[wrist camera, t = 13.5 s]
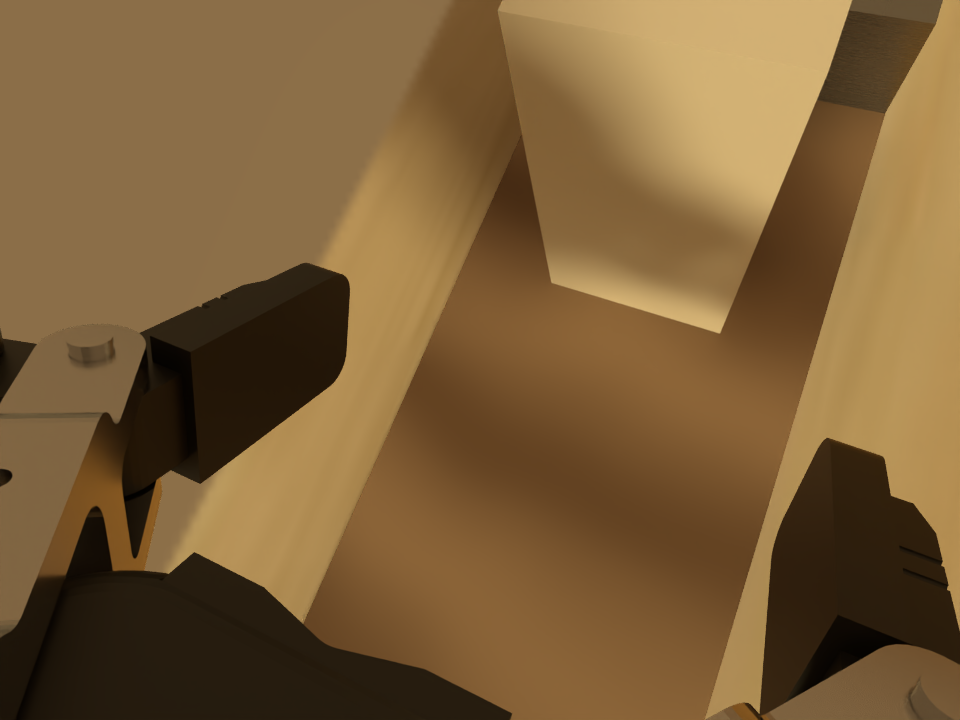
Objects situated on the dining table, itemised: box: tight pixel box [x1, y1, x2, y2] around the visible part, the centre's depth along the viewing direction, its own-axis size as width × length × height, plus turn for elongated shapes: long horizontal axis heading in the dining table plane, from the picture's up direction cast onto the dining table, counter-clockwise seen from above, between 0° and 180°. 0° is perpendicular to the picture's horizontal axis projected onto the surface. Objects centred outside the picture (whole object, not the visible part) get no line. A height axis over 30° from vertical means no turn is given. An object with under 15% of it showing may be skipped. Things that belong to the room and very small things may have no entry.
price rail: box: [817, 0, 943, 113], centre depth 18 cm, size 1×9×3 cm, turn 68°
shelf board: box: [303, 100, 885, 720], centre depth 17 cm, size 24×9×2 cm, turn 158°
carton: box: [498, 0, 852, 334], centre depth 14 cm, size 6×4×9 cm
